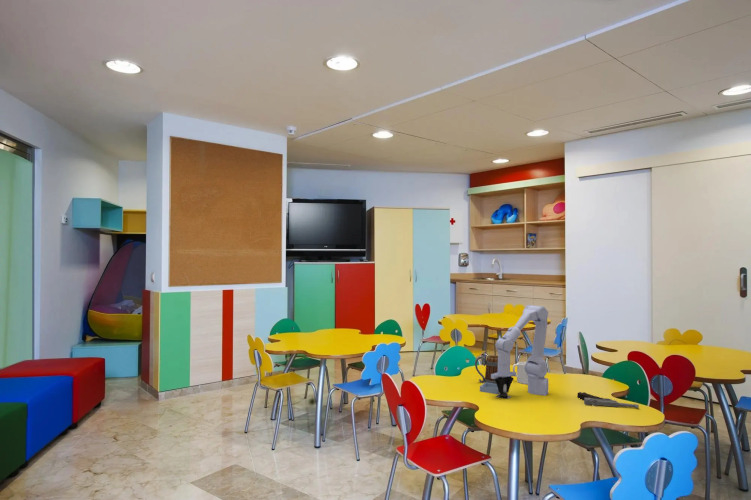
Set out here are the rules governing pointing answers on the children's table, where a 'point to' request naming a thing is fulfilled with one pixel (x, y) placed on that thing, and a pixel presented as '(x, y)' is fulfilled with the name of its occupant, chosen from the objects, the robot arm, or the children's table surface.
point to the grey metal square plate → (503, 397)
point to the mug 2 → (521, 373)
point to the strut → (504, 391)
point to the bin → (489, 388)
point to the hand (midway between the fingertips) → (503, 392)
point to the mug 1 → (488, 368)
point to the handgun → (602, 401)
